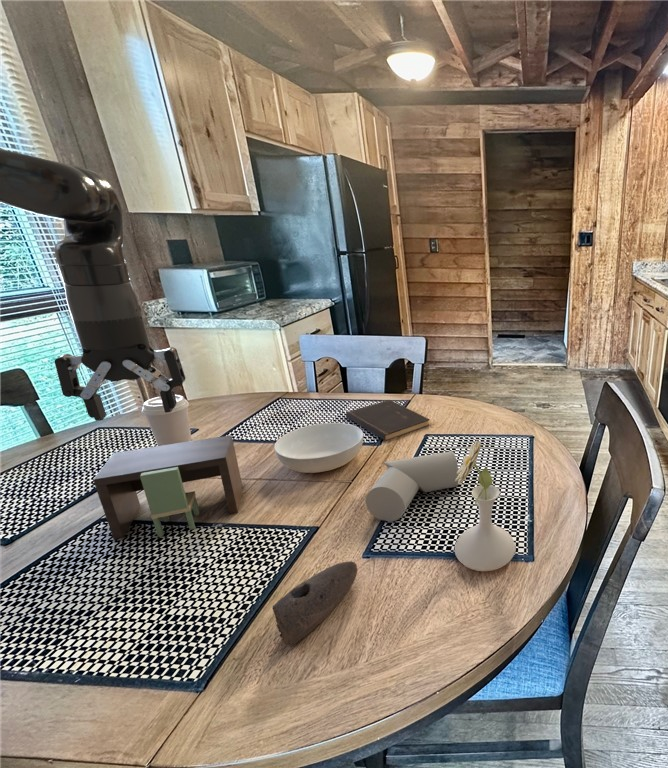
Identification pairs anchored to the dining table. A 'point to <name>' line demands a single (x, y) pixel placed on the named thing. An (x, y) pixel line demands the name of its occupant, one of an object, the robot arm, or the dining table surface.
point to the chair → (168, 497)
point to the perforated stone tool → (312, 601)
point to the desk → (190, 457)
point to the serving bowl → (319, 447)
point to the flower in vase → (483, 524)
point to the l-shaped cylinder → (410, 483)
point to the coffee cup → (168, 421)
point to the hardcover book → (388, 419)
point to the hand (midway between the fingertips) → (136, 414)
